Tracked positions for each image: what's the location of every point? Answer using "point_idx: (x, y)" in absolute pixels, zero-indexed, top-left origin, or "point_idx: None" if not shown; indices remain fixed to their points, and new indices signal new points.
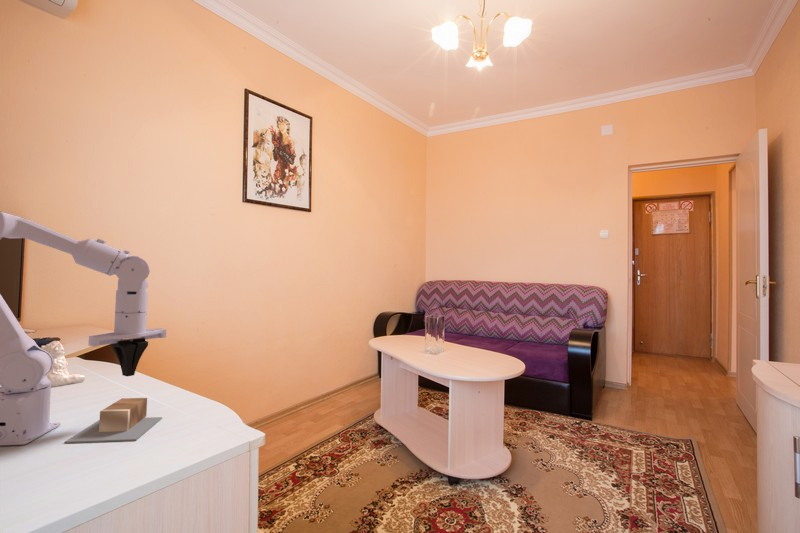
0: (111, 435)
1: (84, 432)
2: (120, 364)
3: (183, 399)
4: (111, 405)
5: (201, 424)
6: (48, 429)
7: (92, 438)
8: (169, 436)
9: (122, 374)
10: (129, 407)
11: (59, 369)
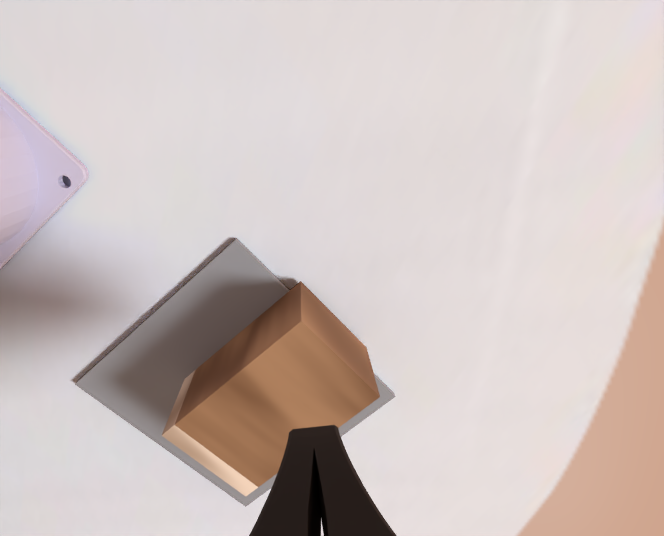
0: None
1: (144, 349)
2: (271, 494)
3: (597, 235)
4: (223, 392)
5: (432, 515)
6: (33, 229)
7: (151, 419)
8: None
9: (288, 436)
10: (266, 465)
11: None
